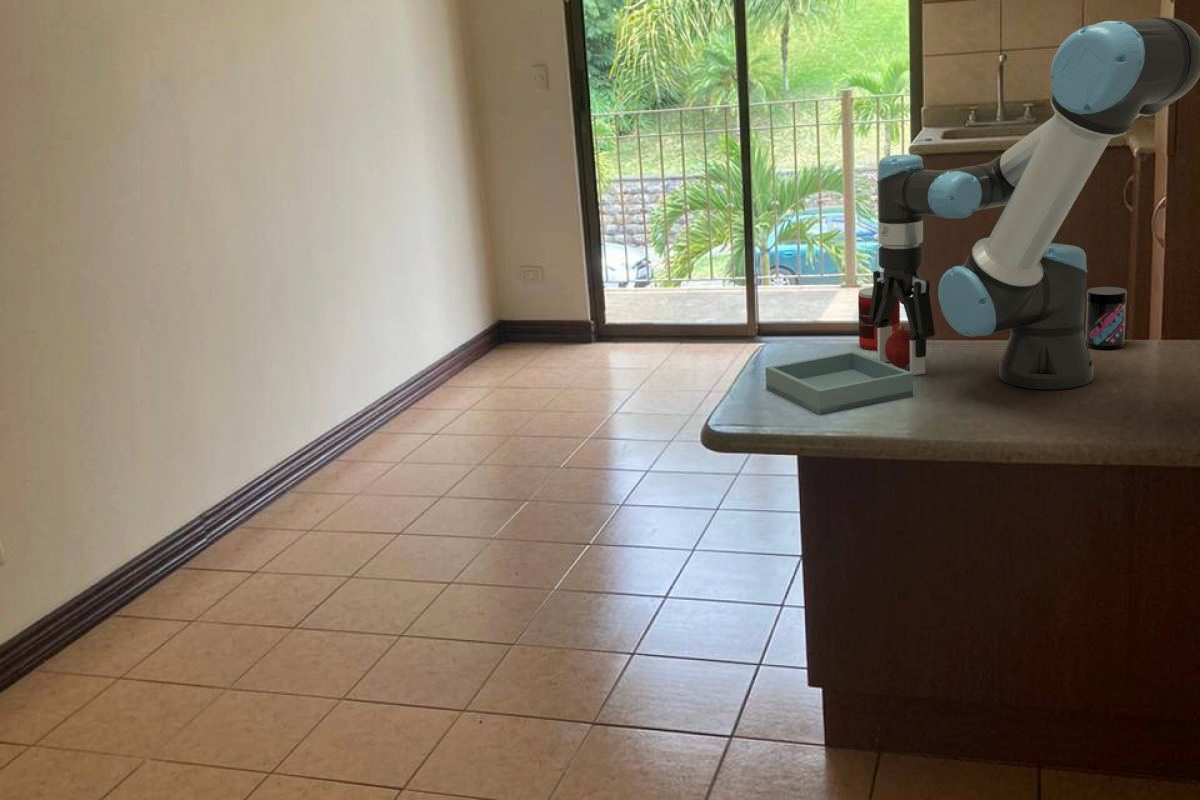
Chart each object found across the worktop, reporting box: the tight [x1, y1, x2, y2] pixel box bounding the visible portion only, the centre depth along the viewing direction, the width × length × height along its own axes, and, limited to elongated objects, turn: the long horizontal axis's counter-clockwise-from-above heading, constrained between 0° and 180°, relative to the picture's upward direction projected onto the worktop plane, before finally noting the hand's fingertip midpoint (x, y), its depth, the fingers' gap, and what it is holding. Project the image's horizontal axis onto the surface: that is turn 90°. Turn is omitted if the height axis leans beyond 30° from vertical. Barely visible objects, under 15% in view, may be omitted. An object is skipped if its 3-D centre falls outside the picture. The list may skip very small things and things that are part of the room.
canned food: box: [857, 286, 901, 352], centre depth 234 cm, size 8×8×11 cm
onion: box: [885, 324, 913, 370], centre depth 218 cm, size 6×6×8 cm
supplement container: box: [1084, 286, 1128, 351], centre depth 222 cm, size 7×7×10 cm
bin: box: [765, 350, 914, 416], centre depth 208 cm, size 18×18×4 cm
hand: (900, 367), depth 219 cm, fingers open, 9 cm apart
